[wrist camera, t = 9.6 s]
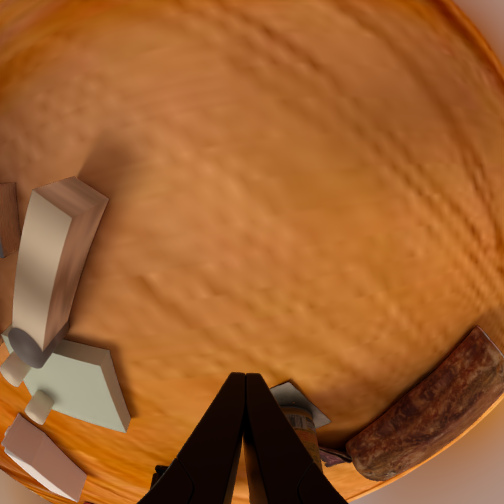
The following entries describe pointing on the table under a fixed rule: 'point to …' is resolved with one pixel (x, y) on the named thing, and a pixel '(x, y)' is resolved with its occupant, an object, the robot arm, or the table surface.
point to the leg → (51, 265)
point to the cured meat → (428, 412)
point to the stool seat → (71, 385)
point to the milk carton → (43, 459)
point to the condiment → (301, 417)
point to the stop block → (8, 220)
